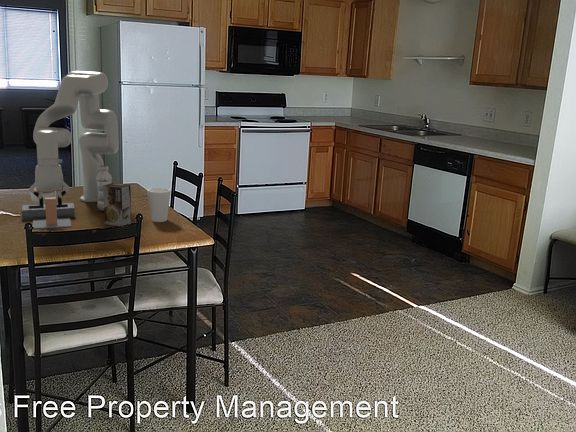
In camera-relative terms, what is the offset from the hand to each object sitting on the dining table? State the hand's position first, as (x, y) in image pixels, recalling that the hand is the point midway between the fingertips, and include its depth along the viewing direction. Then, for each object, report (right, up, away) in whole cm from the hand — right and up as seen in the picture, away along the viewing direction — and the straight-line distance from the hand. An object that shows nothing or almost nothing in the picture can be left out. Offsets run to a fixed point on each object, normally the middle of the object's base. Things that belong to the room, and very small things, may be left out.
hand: (50, 206), depth 227 cm
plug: (0, -6, +1) cm, 6 cm away
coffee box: (+25, -7, +7) cm, 26 cm away
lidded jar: (-15, +1, +29) cm, 33 cm away
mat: (0, -7, +2) cm, 7 cm away
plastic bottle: (+14, -1, +25) cm, 29 cm away
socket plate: (-6, -3, +13) cm, 15 cm away
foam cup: (+40, -5, +15) cm, 43 cm away
